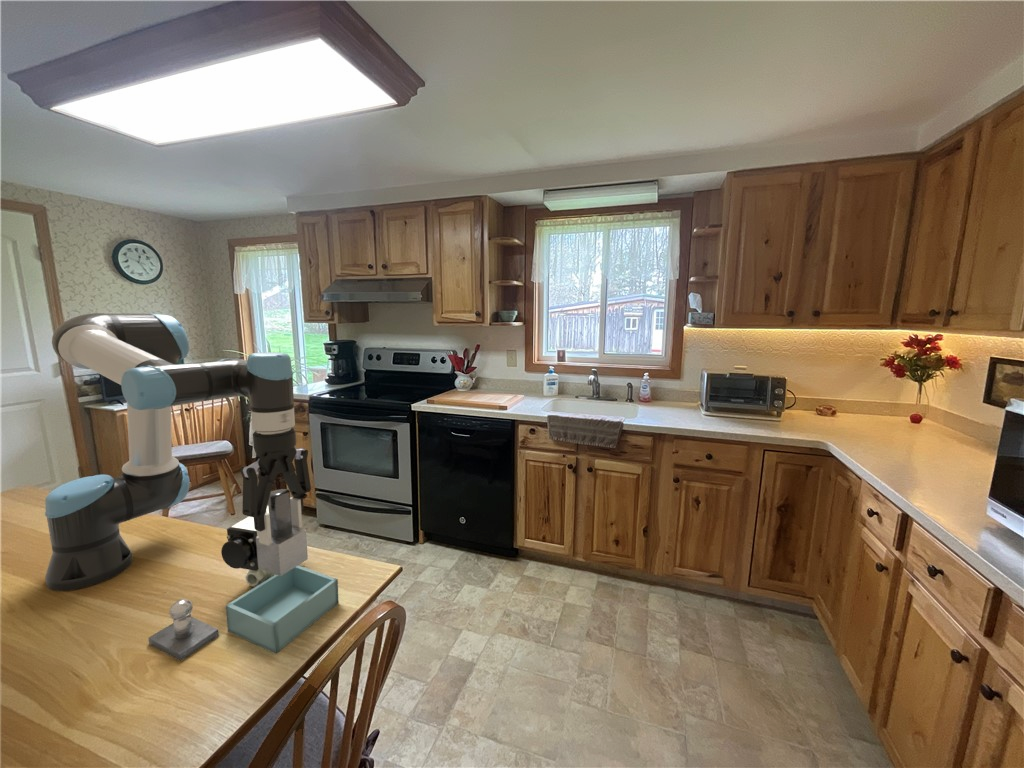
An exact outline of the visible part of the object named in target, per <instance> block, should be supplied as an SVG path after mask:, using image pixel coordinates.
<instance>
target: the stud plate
mask: <svg viewBox="0 0 1024 768" xmlns="http://www.w3.org/2000/svg"><path fill="white" fill-rule="evenodd" d="M193 605H194V604H193V602H192V601H191V600H190V599H188V598H182V599H179V600H177V601H175V602H174V603H173V604H172V605H171V606H170V609H169V616H170V618H171V619H173V620H172V622H173V623H171V624H168V625H167V626H165V627H164V628H162V629H160V630H159V631H157V632H156V633H153V634H152V635H150V636H149V637H148V644H149V645H150V646H152V647H154V648H155V649H157V650H159V651H160V652H163V653H165V654H166V655H168V656H170V657H172V658H174V659H176V660H178V661H179V662H182V661H184V660H185V659H186V658H188V657H190V656H191V655H193V654H194V653H196V652H197V651H198V650H200V649H202V648H203V647H204V646H206V645H207V644H209V643H210V642H211V641H214V640H215V639H216V638H218V637H219V636H220V633H219V628H217V627H215V626H212V625H210V624H208V623H206V622H204V621H202V620H200V619H198V618H195V617H194V616H192V614H191V612H193V611H192V610H193V607H194V606H193Z"/></svg>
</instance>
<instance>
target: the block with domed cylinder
mask: <svg viewBox="0 0 1024 768" xmlns="http://www.w3.org/2000/svg"><path fill="white" fill-rule="evenodd" d="M290 498H291V492H290V490H289V489H286V488H281V489H279V488H278V489H275V490H271V492H270V496H269V501H268V505H267V506H268V508H269V514H270V527H271V541H272V542H271V543H272V544H271V545H269V546H268V545H265V544H262V543H259V536H257V537H256V545H257V558H258V568H260V569H262V570H265V571H268V572H270V573H273V574H276V575H278V576H282V575H284V574H285V573H287V572H288V571H290V570H292V569H293V568H295V567H296V566H298V565H299V566H300V565H301V564H302V563H304V562H306V561H308V559H309V558H308V538H307V529H306V528H303V527H302V528H299V527H296V526H293V525H292V520H291V504H290Z"/></svg>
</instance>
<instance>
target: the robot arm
mask: <svg viewBox="0 0 1024 768" xmlns="http://www.w3.org/2000/svg"><path fill="white" fill-rule="evenodd" d="M51 345H52V349H53V351H54V352H55V354H56V355H57V356H58V357H59V358H60V359H61V360H62V361H64V362H66V363H67V364H69V365H71V366H73V367H76V368H79V369H84V370H91V371H94V372H96V373H97V374H100V375H101V376H103V377H104V378H107V379H109V380H110V381H112V382H114V383H116V384H119V386H121V392H122V396H123V398H124V400H125V401H126V410H127V411H126V413H127V434H128V435H127V436H128V459H129V460H128V461H127V462H125V463H123V465H122V467H121V476H120V475H119V476H117V477H113V476H111V475H109V474H96V475H93V476H91V475H90V476H83V477H80V478H76V479H74V480H70V481H68V482H65V483H63V484H61V485H59V486H57V487H56V488H54V489H53V490H52V491H50V492H49V493H48V494H47V496H46V497H45V502H44V503H45V505H44V506H45V512H44V516H45V517H46V520H47V526H48V533H49V539H50V544H51V550H52V553H51V557H50V560H49V562H48V565H47V566H48V567H47V569H46V572H45V578H44V579H45V586H46V589H49V591H50V590H51V591H55V592H66V591H69V592H70V591H73V590H80V589H84V588H88V587H91V586H95V585H98V584H101V583H102V582H105V581H108V580H110V579H112V578H115V577H116V576H118V575H120V574H121V573H123V572H125V571H126V570H127V569H128V568H129V567H130V566H131V565H132V563H133V560H134V559H133V553H132V550H131V549H130V547H129V546H128V544H127V542H126V541H125V539H124V538H123V537H122V535H121V533H120V524H122V523H125V522H128V521H130V520H135V519H137V518H140V517H143V516H146V515H148V514H152V513H155V512H158V511H160V510H161V511H162V510H163V511H164V510H166V509H168V508H170V507H173V506H175V505H178V504H179V503H181V502H183V500H185V499H186V497H187V495H188V494H189V490H190V482H191V481H190V475H189V471H188V469H187V467H186V466H185V465H184V464H183V463H181V462H179V459H178V458H176V457H174V456H173V455H172V454H173V451H172V450H173V448H172V447H173V444H172V438H173V437H172V433H173V432H172V407H176V406H182V405H188V404H197V403H200V402H208V401H215V400H221V399H227V398H234V397H235V398H236V397H244V398H245V397H246V398H249V400H250V414H251V418H250V419H251V429H252V430H253V431H254V432H253V433H252V441H253V442H252V443H253V450H254V452H255V458H254V461H253V463H251V464H249V465H248V466H247V465H246V466H245V465H242V466H240V468H239V469H240V473H241V477H242V510H241V511H242V514H243V516H247V517H249V516H250V517H254V528H255V530H257V531H258V536H259V543H262V544H265V545H268V546H269V545H271V544H272V543H271V542H272V541H271V527H270V514H268V513H266V509H267V506H268V501H269V496H270V492H272V487H273V483H274V482H275V481H276V479H277V476H278V475H279V474H281V475H282V476H283V479H284V481H285V483H286V485H287V488H288V490H289V491H290V495H291V496H290V504H291V520H292V525H293V526H296V527H299V528H303V518H302V517H303V516H302V512H303V511H304V500H305V499H306V498H307V497H308V495H307V493H309V492H311V491H312V487H311V478H310V471H309V465H308V454H309V450H307V449H306V448H301V447H300V448H299V447H297V448H296V445H297V433H296V432H297V431H296V429H295V428H294V427H295V425H296V419H295V418H296V416H295V405H294V404H295V402H294V401H295V400H294V377H293V376H294V372H293V368H292V360H291V357H290V355H289V354H288V353H285V352H274V351H273V352H268V351H267V352H253V353H250V354H249V355H248V357H247V359H241V358H236V357H233V358H223V359H222V358H221V359H219V360H217V361H206V362H205V361H204V362H193V363H192V362H191V363H179V361H181V360H183V359H186V358H187V357H188V354H189V352H190V343H189V339H188V335H187V332H186V330H185V329H184V327H183V325H182V323H180V321H178V320H177V319H176V318H175V317H174V316H171V315H168V314H159V313H158V314H157V313H151V312H150V313H149V312H148V313H105V312H103V313H102V312H93V313H86V314H82V315H81V314H80V315H78V316H75V317H71V318H69V319H67V320H66V321H64V322H63V323H61V324H60V325H59V326H58V327H57V328H56V329H55V330H54V332H53V335H52V337H51ZM293 462H294V463H293ZM258 470H259V471H258Z"/></svg>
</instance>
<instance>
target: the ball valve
mask: <svg viewBox="0 0 1024 768" xmlns="http://www.w3.org/2000/svg"><path fill="white" fill-rule="evenodd" d="M266 513H268V514H269V508H268V505H267V509H266ZM226 532H227V534H226V539H227V541H226V542H224V543H223V545H222V547H221V552H220V553H221V557H222V559H223V562H224V563H225V564H226V565H227V566H228V567H230V568H232V569H235V570H236V569H244V570H247V571H248V570H249V571H248V572H247V573H246V575H245V580H246V582H247V584H248V585H249V586H251V587H256V586H258V585H259V584H261V583H263V582H264V581H266V580H268V579H269V578H271V577H272V576H274V575H276V574H273V573H270V572H268V571H265V570H262V569H260V568H258V558H257V545H256V537H257V536H258V531H257V530H255V528H254V517H250V516H247V517H246V518H244V519H242V520H240V521H238V522H236V523H235V524H233V525H232V526H230V527H228V528H227V529H226Z"/></svg>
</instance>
